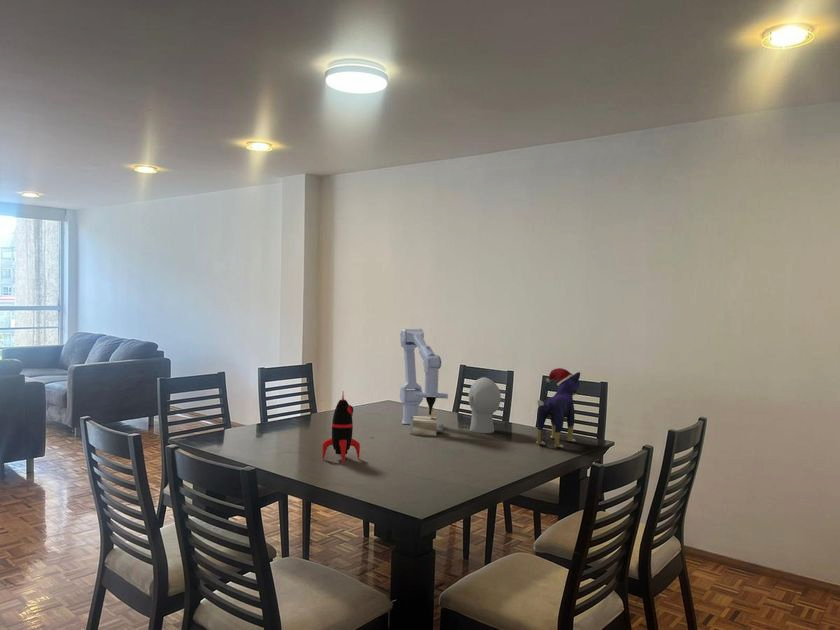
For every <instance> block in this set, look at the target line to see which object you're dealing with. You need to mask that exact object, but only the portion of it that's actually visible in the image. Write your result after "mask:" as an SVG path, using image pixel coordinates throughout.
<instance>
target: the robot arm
mask: <svg viewBox="0 0 840 630" xmlns="http://www.w3.org/2000/svg"><path fill="white" fill-rule="evenodd" d="M399 336H400V337H399V338H400V340H399V341H400V347H402V348H403V354H404V355H403V358H404V359H403V360H404V373H405V383H404V384H403V385H402V386H401V387H400V389H399V391H400V392H399V401H400V402H401V403H402V404H403V409H402V410H403V411H402V413H403V415H402V419H401V424H402V425H410V417H413V416H420V415H419V414H420V412H419V411H420V405H421V403H423V400H424V399H425V401H426V403H427V405H428V406H427V407H428V408H429V409H428V415H429V416H431V410H432V408H433V407H434V404H436V403H435V402H436V401H437V399H447V400H448V399H449V394H448V393H443V392H442V393H441V392H439V372H440V371H439V369H441V367H442V358H441V356H440V355H438V354H435V352H434V351H433V349H432V348H431V346H430V345H427V343H426V341H425V339H424V337H425V333H424V329H422V328H403V329H401V331H400V335H399ZM416 348H418V353H419V354H418V355H420V357H421V359H422V360H423V363H422V364H423V365H422V366H423V370H424V372H423V373H424V375H425V377H424V378H425V379H424V391H423V389H422V386H421V385H420V384H419V383H418V382H417V372H416V354H415V349H416Z"/></svg>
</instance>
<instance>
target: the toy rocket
mask: <svg viewBox="0 0 840 630" xmlns="http://www.w3.org/2000/svg"><path fill="white" fill-rule="evenodd" d="M341 396H342V397H341V399H339V400H338V401H337V404H336V406H335V409H334V412H333V417H332V422H331V437H330V438H328V439H326V440H324V441H323V443H322V460H325V455H326V452H327V449H328V448H329V447H330V446H332V447H333V448H332V449H333V450H334V451H335V455H341V460H342V464H345V461H346V455H347V454H348V451H349V450H350V449H351V446H352V447H354V448H355V449H354V450H355V451H356V456H357V460H360V452H361V451H360V449H361V444H360V442H359V441H358V440H356V439H354V438H353V429H354V428H353V427H354V425H353V422H354V421H353V415H354V407H353V406H352V405H351V404H349V403H348V401H347V399H345V397H344V396H345V395H344V392H342V395H341Z"/></svg>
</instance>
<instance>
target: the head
mask: <svg viewBox="0 0 840 630" xmlns="http://www.w3.org/2000/svg"><path fill="white" fill-rule="evenodd" d="M501 395H502V393H501V391H500V388H499V386H498V385H497V384H496V383H495V382H494V381H493V380H492V379H490V378H488V377H485V376H484V377H480V378H478V379H476V380H474V382H473V383H472V384H471V386H470V388H469V392H468V395H467V396H468V403H469V407H470V409H471V421H470V427H469V431H470V432H473V433H476V434H492V433H494V432H495V427H494V420H493V417H494V413H496V412H497V411H498V409H499V407H500V404H501V402H502V397H501Z"/></svg>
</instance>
